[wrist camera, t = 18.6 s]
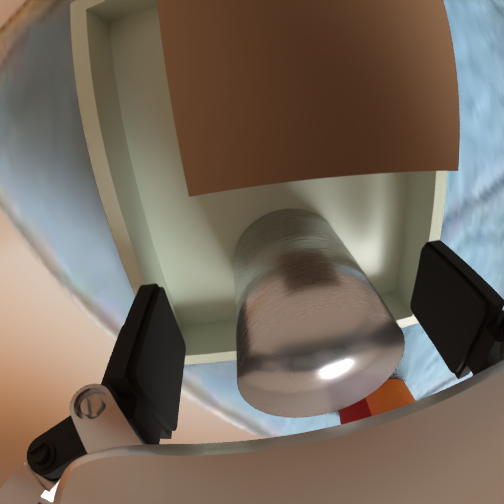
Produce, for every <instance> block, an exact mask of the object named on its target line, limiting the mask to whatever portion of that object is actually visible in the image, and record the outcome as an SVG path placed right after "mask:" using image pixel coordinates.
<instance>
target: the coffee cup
mask: <svg viewBox="0 0 504 504" xmlns="http://www.w3.org/2000/svg"><path fill="white" fill-rule="evenodd" d="M413 402H415V399H414V398H413V396H412V394H411V393H410V391H409V389H408V388H407V386H406V385H405V383H404V382H403V381H402V380H400V379H396V378H390V379H387V380H386V381H385V382H384V383H383V384H382V385H381V386H380V387H379V388H378V389H376V390H375V391H374V392H372V393H371V394H369V395H368V396H366V397H365V398H363V399H361V400H360V401H358V402H356V403H354V404H352V405H350V406H348V407H345V408H342V409H340V410H339V415H340V422H341V425H342V424H346V423H349V422H353V421H357V420H361V419H364V418H368V417H371V416H374V415H378V414H381V413H384V412H387V411H390V410H393V409H396V408H399V407H402V406H405V405H407V404H410V403H413Z"/></svg>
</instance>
